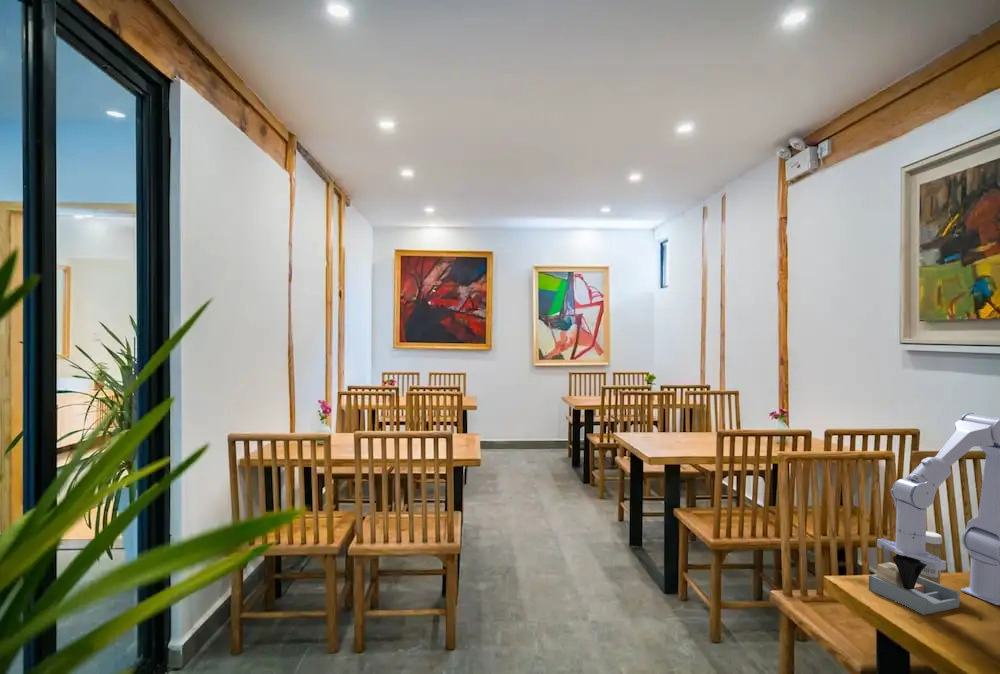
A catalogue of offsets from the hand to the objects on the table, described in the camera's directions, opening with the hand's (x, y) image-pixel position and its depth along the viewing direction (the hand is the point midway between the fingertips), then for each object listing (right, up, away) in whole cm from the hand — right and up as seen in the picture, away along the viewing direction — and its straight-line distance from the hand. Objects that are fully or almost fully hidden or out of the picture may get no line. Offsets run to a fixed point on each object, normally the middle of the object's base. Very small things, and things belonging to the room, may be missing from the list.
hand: (908, 588), depth 133 cm
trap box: (+2, -3, +1) cm, 4 cm away
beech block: (-1, -1, +4) cm, 4 cm away
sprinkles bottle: (+11, -3, +8) cm, 14 cm away
